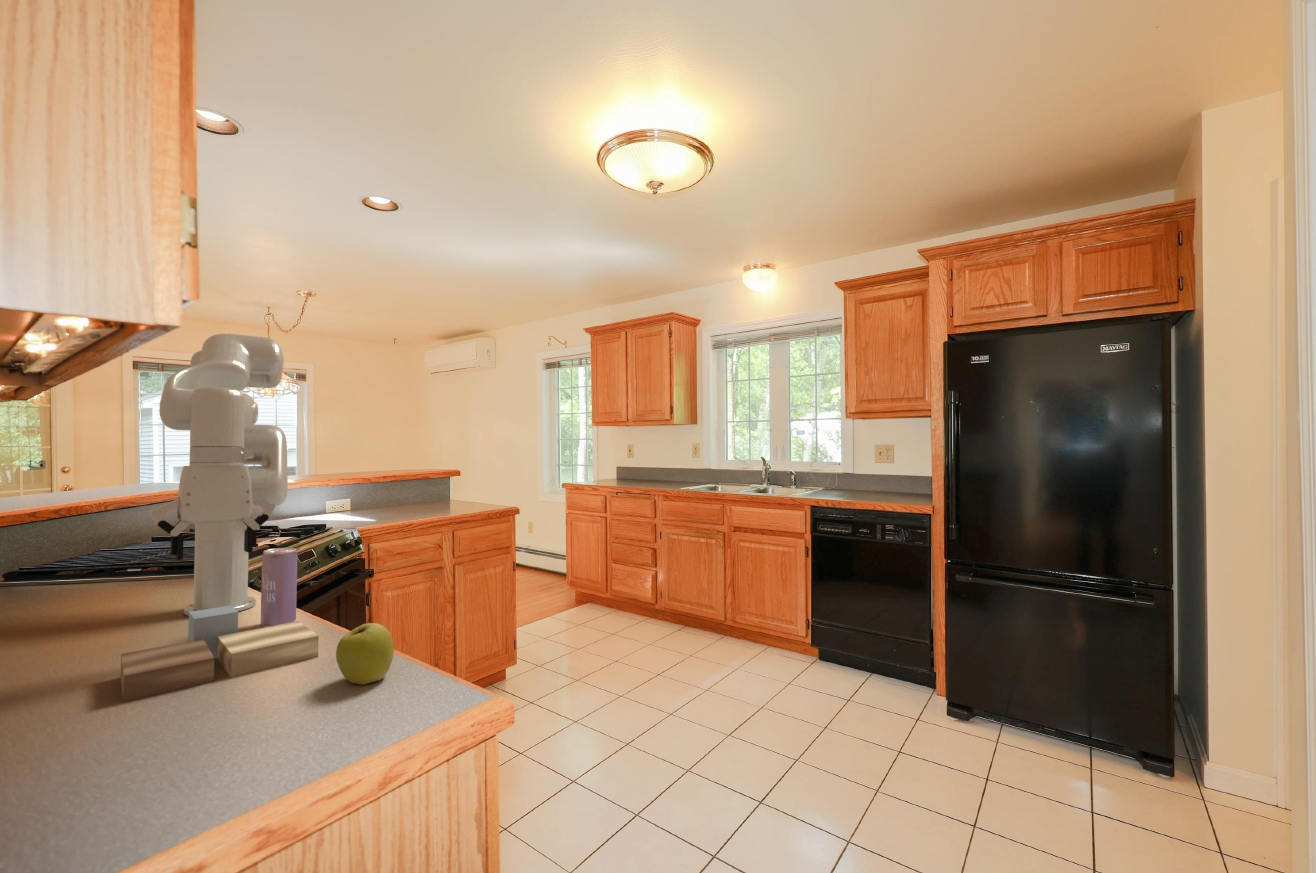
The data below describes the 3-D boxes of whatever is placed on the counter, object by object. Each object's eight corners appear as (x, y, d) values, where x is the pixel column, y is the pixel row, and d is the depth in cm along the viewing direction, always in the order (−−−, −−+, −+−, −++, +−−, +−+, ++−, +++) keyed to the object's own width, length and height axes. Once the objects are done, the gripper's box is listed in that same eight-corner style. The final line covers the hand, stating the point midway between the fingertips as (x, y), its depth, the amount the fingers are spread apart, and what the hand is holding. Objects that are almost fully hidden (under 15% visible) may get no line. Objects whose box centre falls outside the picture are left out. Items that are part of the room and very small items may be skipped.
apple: (402, 658, 92) (397, 605, 89) (387, 692, 85) (382, 635, 82) (350, 661, 91) (343, 607, 88) (331, 696, 83) (323, 639, 81)
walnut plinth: (120, 679, 87) (121, 653, 87) (202, 663, 94) (203, 638, 94) (122, 704, 78) (123, 675, 78) (213, 684, 85) (214, 657, 85)
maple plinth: (216, 659, 95) (217, 636, 95) (298, 642, 104) (298, 620, 104) (231, 679, 87) (231, 653, 87) (318, 659, 96) (318, 635, 96)
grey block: (187, 652, 98) (188, 611, 98) (230, 643, 102) (231, 605, 102) (193, 661, 94) (194, 618, 94) (237, 651, 98) (238, 611, 98)
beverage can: (302, 620, 116) (304, 547, 117) (280, 629, 110) (282, 552, 111) (276, 619, 117) (277, 547, 117) (252, 628, 111) (254, 552, 111)
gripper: (270, 457, 108) (268, 547, 107) (149, 458, 95) (146, 559, 94) (280, 457, 103) (278, 551, 102) (153, 457, 90) (150, 564, 89)
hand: (214, 555), depth 98 cm, fingers open, 9 cm apart
